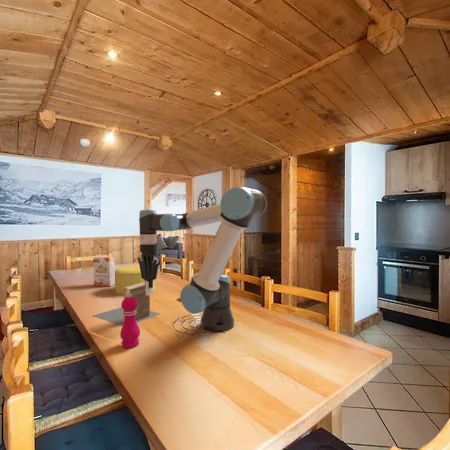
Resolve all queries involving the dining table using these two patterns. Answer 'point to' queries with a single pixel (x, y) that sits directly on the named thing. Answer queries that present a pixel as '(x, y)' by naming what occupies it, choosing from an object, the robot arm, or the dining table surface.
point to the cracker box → (104, 271)
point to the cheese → (128, 278)
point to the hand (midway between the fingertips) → (149, 294)
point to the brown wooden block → (139, 299)
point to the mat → (119, 316)
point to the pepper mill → (130, 323)
